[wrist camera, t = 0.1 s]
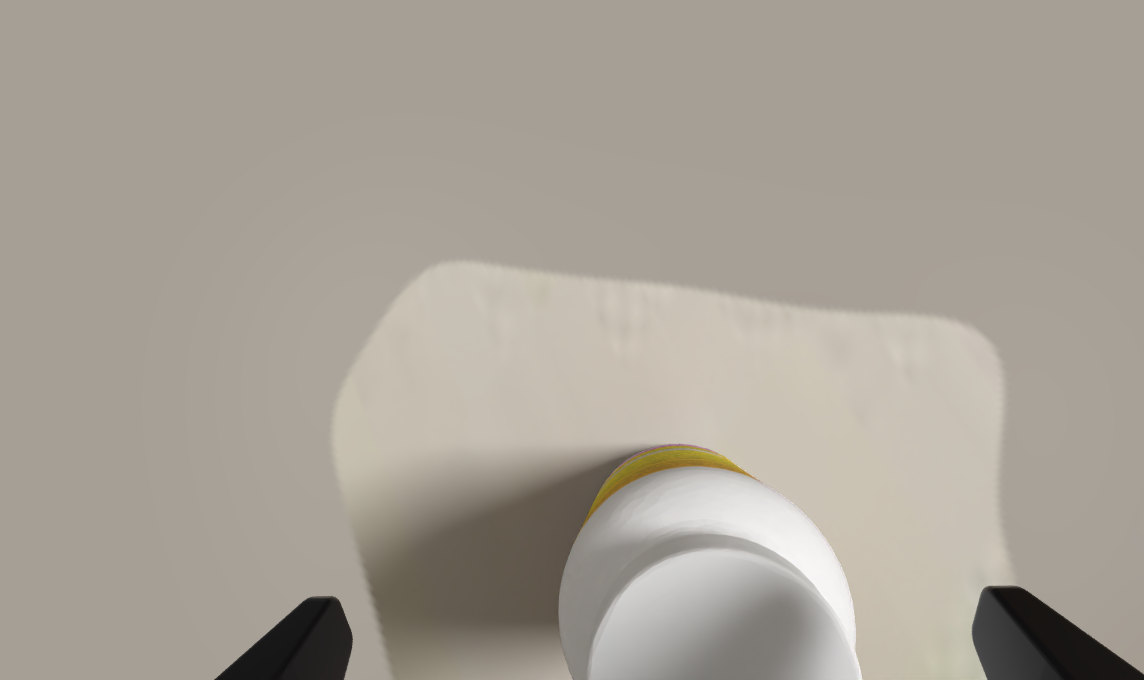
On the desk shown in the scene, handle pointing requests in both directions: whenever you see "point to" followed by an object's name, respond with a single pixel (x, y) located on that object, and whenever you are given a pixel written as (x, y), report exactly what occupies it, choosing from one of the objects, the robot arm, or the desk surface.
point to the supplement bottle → (702, 579)
